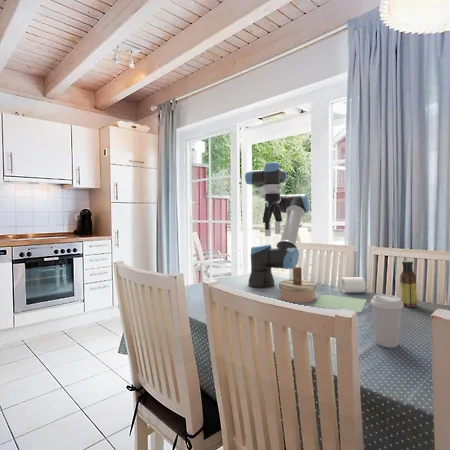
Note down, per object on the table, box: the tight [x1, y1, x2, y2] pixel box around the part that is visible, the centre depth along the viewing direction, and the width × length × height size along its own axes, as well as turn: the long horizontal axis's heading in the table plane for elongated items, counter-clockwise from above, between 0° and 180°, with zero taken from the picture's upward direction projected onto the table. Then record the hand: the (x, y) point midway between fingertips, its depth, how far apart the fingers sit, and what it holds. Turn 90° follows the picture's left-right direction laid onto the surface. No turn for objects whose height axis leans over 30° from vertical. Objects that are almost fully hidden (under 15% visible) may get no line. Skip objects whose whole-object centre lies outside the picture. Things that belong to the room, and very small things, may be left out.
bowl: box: [279, 287, 316, 303], centre depth 155 cm, size 16×16×6 cm
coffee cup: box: [370, 294, 405, 349], centre depth 102 cm, size 10×10×15 cm
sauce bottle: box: [399, 260, 418, 308], centre depth 140 cm, size 6×6×20 cm
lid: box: [278, 266, 318, 291], centre depth 155 cm, size 18×18×9 cm
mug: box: [339, 276, 366, 294], centre depth 165 cm, size 12×10×8 cm
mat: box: [312, 294, 367, 313], centre depth 145 cm, size 20×20×1 cm
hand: (273, 235), depth 162 cm, fingers open, 13 cm apart
